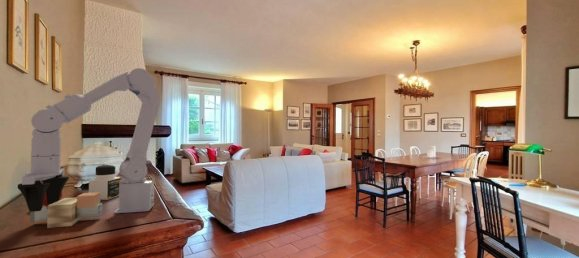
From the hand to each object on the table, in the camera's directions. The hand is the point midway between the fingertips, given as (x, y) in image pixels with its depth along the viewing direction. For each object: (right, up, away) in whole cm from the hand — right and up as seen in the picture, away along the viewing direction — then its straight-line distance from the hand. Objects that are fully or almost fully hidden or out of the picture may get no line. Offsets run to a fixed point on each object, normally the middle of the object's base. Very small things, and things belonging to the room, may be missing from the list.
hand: (44, 207), depth 68 cm
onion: (-12, -5, +15) cm, 20 cm away
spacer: (+9, 0, +3) cm, 10 cm away
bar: (+5, -3, +2) cm, 6 cm away
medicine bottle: (-4, -5, +28) cm, 29 cm away
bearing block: (+5, -5, +1) cm, 7 cm away
